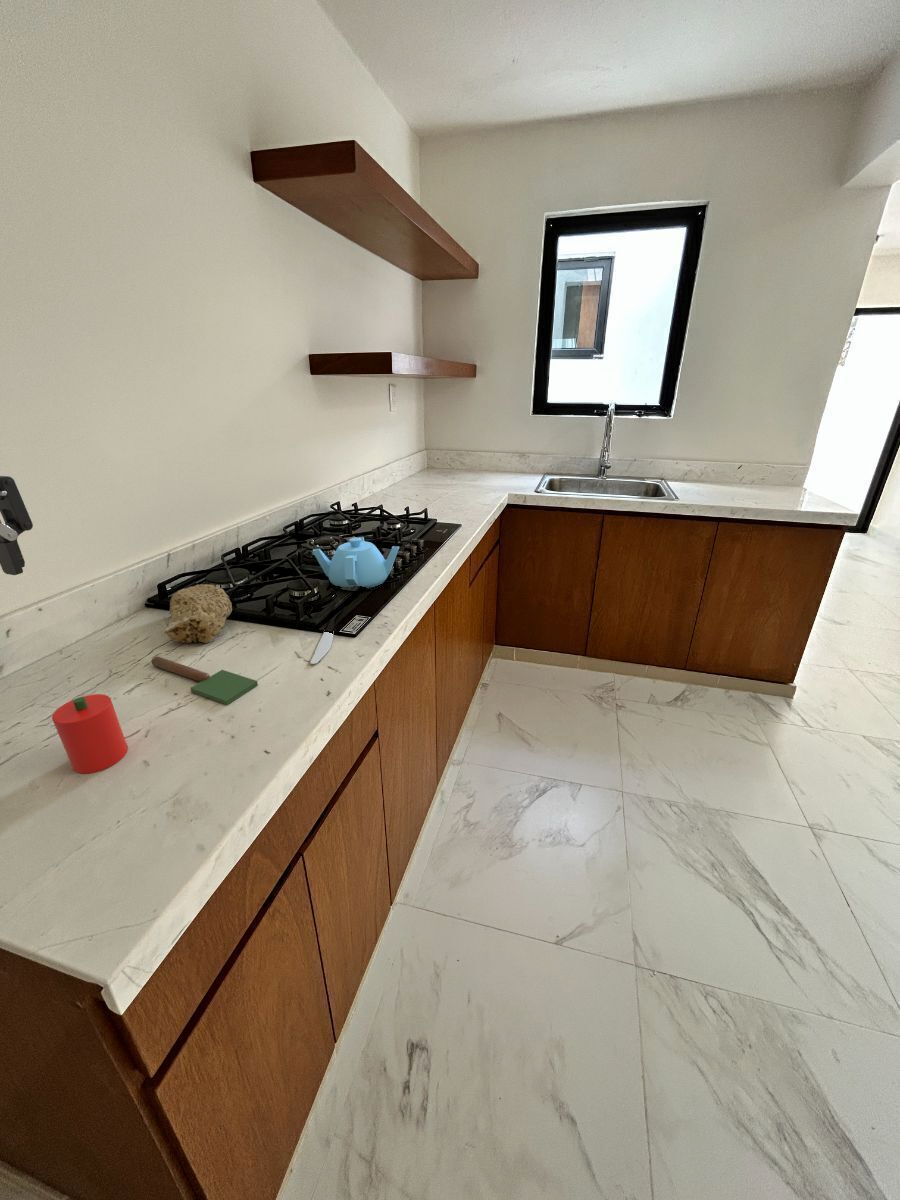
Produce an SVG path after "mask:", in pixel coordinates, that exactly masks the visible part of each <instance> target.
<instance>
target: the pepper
mask: <svg viewBox="0 0 900 1200" xmlns="http://www.w3.org/2000/svg"><path fill="white" fill-rule="evenodd" d="M51 719H52V722H53V725H54V727H55V729H56V732H57V734H58V737H59V738H60V741H61V743H62V746H63V748H64V751H65V753H66V756H67V758H68V761H69V763H70V765H71V768H72V770H73V771H74V772H76V773H77V774H78V773H79V774H85V775H86V774H94V773H98V772H101V771H103V770H107V769H108V768H110V767H112V766H114V765H116V764H117V763H118V762H120V761H121V760H122V759H123V758H124V757H125V756H126V755H127V753H128V749H129V747H128V744H127V741H126V737H125V736H124V731H123V729H122V727H121V724H120V720H119V718H118V715H117V712H116V710H115V707H114V704H113V701H112V698H111V697H110V696H109V695H107V694H100V693H98V694H97V693H96V694H94V693H93V694H87V695H83V696H80V697H77V698H74V699H72V700H70V701H67V702H65V703H64V704H62V705H60V706H59V707H58V708H57V709H56V710H55V711H53V713H52V716H51Z"/></svg>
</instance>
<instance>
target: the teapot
mask: <svg viewBox="0 0 900 1200" xmlns="http://www.w3.org/2000/svg"><path fill="white" fill-rule="evenodd" d="M399 549H400V546H395V545H393V546H392V547H391V550H390V552H389V554H388V556H387V558H386V559H385V557H384V556H383V554H382V553H381V552H380V550H379V549H378V548H377V546H376V545H375V544H374V543H372V542H369V541H365V537H364V536H359V537H351V538H349V539H348V542H345V543H342V544H340V545H339V546H338V547H337V548H336V549H335V552H334V553H333V555H332V557H331V559H329V558H328V556H327V555H326V554H325V553H324V552H323V551H322V550H321V548H314V549H312V554H313V555H314V556H315V558H316V560H317V562H318V564H319V566H320V568H321V569H322V571H323V573H324V574H325V576H326V577H328V580H329V582H330V583H331V585H333V586H334V585H335V586H340V587H353V586H362V587H366V588H369V587H370V588H371V587H375V586H378V585H380V584H382V585H383V584H384V582H385V581H386V580H387V579H388V577H389V575H390V573H391V571H392V568H393V565H394V563H395V560H396V557H397V555H398V552H399ZM335 586H334V587H335ZM380 586H381V585H380Z"/></svg>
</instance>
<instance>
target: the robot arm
mask: <svg viewBox="0 0 900 1200" xmlns="http://www.w3.org/2000/svg"><path fill="white" fill-rule="evenodd" d="M0 515H1V517H2V519H3V521H4V522H2V520H1V519H0V567H1V570H2V572H3V573H4V574H5V575H10V576H17V575H21V574H23V573H24V569H23V568H25V567H26V561H25V558H24V556H23V553H22V551H21V548H20V545H19V543H18V537H19V536H20V535H21V534H23V533H25V532H27V531H28V532H29V531H31V530H32V529H33V527H34V523H33V521H32V519H31V517H30V514H29V511H28V510H27V507H26V505H25V503H24V500H23V497H22V495H21V493H20V490H19V489H18V486H17V484H16V481H15V479H14V478H13V477H12V476H8V475H7V476H6V475H0Z"/></svg>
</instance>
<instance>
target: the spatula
mask: <svg viewBox="0 0 900 1200" xmlns="http://www.w3.org/2000/svg"><path fill="white" fill-rule="evenodd" d="M150 662H151V664H152V666H154V667H156V668H160V669H163V670H164V671H165V670H166V671H168V672H171V673H174V674H177V675H180V676H183V677H186V678H188V679H191V680H194V681H196V682H198V683H196V684H195V685H193V686H191V687H190V688H189V689H190V693H192V694H196V695H198V696H201V697H203V698H205V699H209V700H211V701H213V702H214V701H215V702H217V703H219V704H222V705H225V706H229V704H231V703H233V702H234V701H236V700H238V699H239V698H241V697H242V696H243V695H245V694H246V693H248V692H250V691H251V690H253V689H254V688H255V687H257V686H258V685H259V684H258V681H257V680H256V679H252V678H250V677H246V676H243V675H239V674H237V673H234V672H230V671H228V670H224V669H221V670H219V671H217V672H215V673H214V674H212V675H210V674H209V673H208V672H205V671H202V670H199V669H196V668H193V667H191V666H187V665H185V664H182V663H178V662H176V661H173V660H169V659H166V658H165V657H164V658H163V657H161V656H154V657H152V659H151V661H150Z"/></svg>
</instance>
